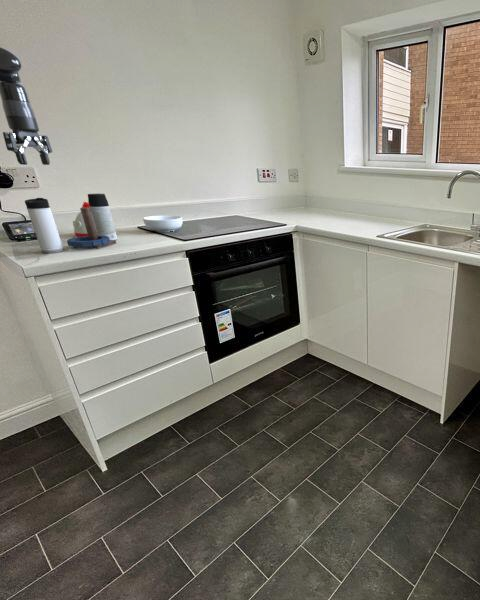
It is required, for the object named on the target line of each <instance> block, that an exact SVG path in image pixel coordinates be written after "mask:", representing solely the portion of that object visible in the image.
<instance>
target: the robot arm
mask: <svg viewBox="0 0 480 600" xmlns="http://www.w3.org/2000/svg"><path fill="white" fill-rule="evenodd" d="M21 69H22V62H21V59H20V58H19V57H18V55H16V54H15V53H14V52H12V51H11V50H9V49H7V48H4V47H1V46H0V99H1V104H2V109H3V112H4V115H5V119H6V122H7V125H8V128H9V129H10V130H12V132H11V131H3V132H2V136H3V139H4V144H5V147H6V150H7V151H8V152H9V151H10V152H12V153H14V155H15V157H16V160H17V163H18V164H19V165H23V166H24V165H26V166H27V165H28V161H27V157H26V155H25V153H24V152H25V149H27V148H28V147H29V148H32V149H34V150H36V151H37V152H38V153H39V158H40V161H41V165H43V166H49V165H50V164H51V161H50V157H49V154H51V153H53V148H52V145H51V143H50V139H49V137H48V135H45V134H44V135H41V134H39V133H38V132H40V128H39V125H38V122H37V117H36V114H35V111H34V108H33V106H32V104H31V100H30V97H29V93H28V91H27V88H26V86H25V85H24V84H23V83H22V80H21V77H20V73H19V72H21Z"/></svg>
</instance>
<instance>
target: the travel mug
mask: <svg viewBox="0 0 480 600" xmlns="http://www.w3.org/2000/svg"><path fill="white" fill-rule="evenodd" d="M24 204H25V206H26V210H27V213H28V216H29V219H30V222H31V225H32V228H33V230H34V233H35V236H36V239H37V242H38V245H39V248H40V251H41V253H43V254H57V253H61V252H64V250H65V249H64V246H63V242H62V239H61V235H60V234H59V231H58V227H57V223H56V221H55V218H54V215H53V212H52V209H51V207H50V203H49V200H48V199H47V198H44V197H36V198H30V199H29V198H28V199H25V200H24Z"/></svg>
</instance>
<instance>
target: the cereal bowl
mask: <svg viewBox="0 0 480 600" xmlns="http://www.w3.org/2000/svg"><path fill="white" fill-rule="evenodd" d="M142 220H143V224H144V225H145V227H146V228H148V229H149V230H152V231H155V232H156V233H171V232H170V231H173V232H175V231H176V230H178V229H180V228H181V227H182V226H183V216H179V215H151V216H145V217H143V219H142Z"/></svg>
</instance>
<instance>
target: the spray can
mask: <svg viewBox="0 0 480 600" xmlns="http://www.w3.org/2000/svg"><path fill="white" fill-rule="evenodd" d="M87 202H88V203H89V206H90V210H91V214H92V217H93V221H94V224H95V228H96V232H97V235H98V236H108V237H109V239H110V240H116V241H117V240H118V236H117V231H116V227H115V223H114V219H113V216H112V212H111V208H110V204H109V201H108V199H107V197H106V194H105V193H87Z"/></svg>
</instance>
